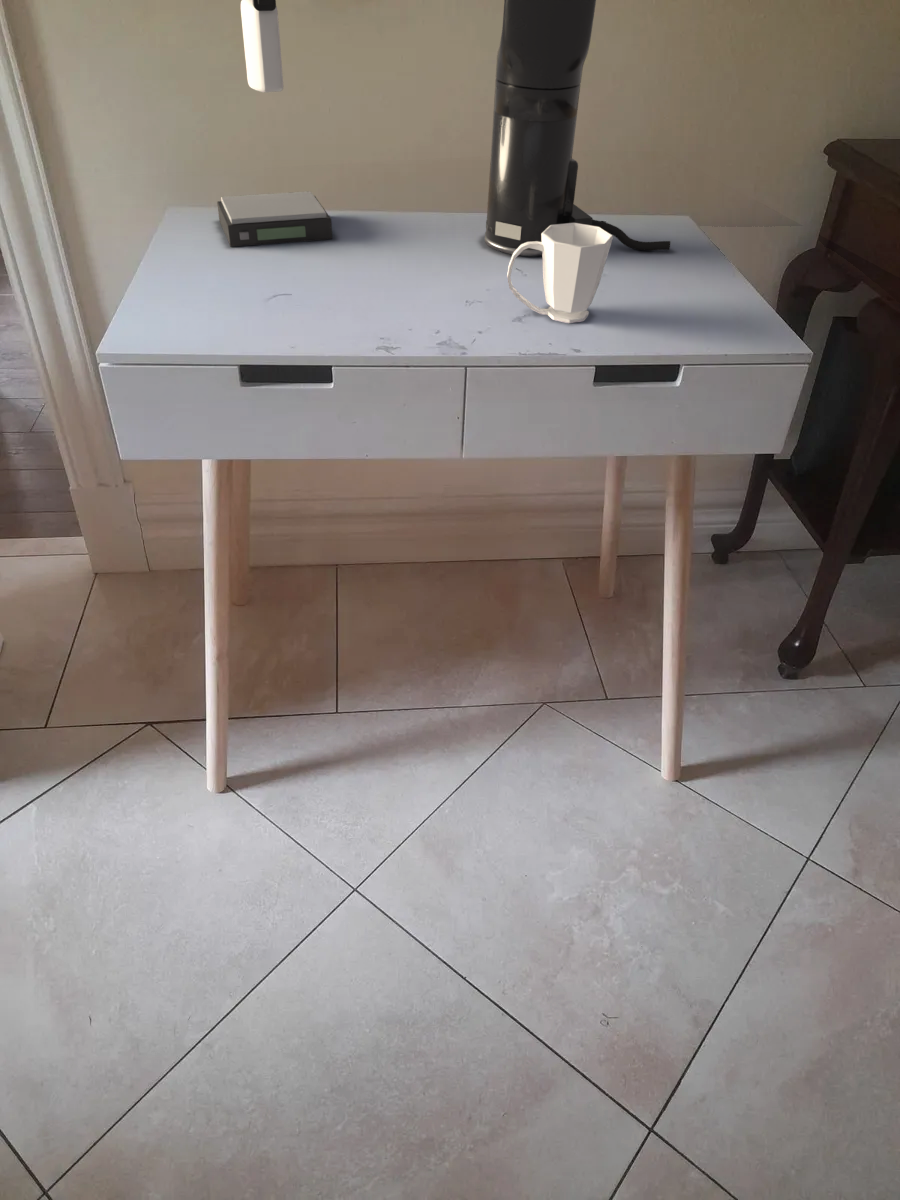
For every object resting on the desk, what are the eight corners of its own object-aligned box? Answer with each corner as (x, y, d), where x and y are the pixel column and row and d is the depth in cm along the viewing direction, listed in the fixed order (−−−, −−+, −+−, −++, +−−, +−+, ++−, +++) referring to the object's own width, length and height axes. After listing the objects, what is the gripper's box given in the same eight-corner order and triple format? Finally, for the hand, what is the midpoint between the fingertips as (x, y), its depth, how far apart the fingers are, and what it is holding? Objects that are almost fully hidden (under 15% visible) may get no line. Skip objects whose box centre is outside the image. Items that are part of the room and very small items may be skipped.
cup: (605, 330, 89) (618, 248, 84) (505, 326, 89) (512, 243, 83) (597, 302, 94) (608, 223, 89) (503, 298, 94) (509, 219, 89)
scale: (315, 215, 112) (314, 190, 110) (332, 240, 105) (331, 213, 103) (219, 221, 109) (216, 195, 107) (230, 247, 102) (227, 221, 100)
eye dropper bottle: (290, 83, 98) (280, -51, 90) (281, 94, 94) (270, -45, 86) (251, 81, 98) (238, -53, 90) (240, 92, 94) (225, -48, 86)
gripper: (297, -217, 76) (310, 16, 87) (267, -213, 86) (282, -5, 97) (209, -222, 74) (233, 17, 85) (188, -218, 84) (212, -4, 95)
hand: (259, 4), depth 91 cm, fingers closed on eye dropper bottle, 5 cm apart
